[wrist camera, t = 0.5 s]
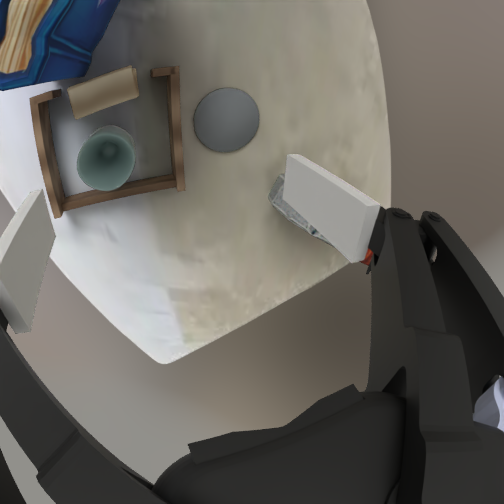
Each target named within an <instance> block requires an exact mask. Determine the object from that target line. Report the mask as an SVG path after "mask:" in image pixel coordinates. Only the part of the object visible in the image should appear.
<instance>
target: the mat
mask: <svg viewBox="0 0 504 504" xmlns="http://www.w3.org/2000/svg"><path fill="white" fill-rule="evenodd" d="M258 125H259V111H258V108H257V105H256V103H255V102H254V100H253V99H252V98H251V97H250V96H249V95H248V94H247V93H245V92H243V91H241V90H238V89H234V88H222V89H218V90H215V91H213V92H211V93H210V94H208V95H207V96H206V97H205V98H203V100H202V101H201V102H200V103H199V105H198V107H197V109H196V111H195V115H194V128H195V132H196V134H197V136H198V138H199V139H200V140H201V142H202V143H203V144H204V145H206V146H207V147H208V148H210V149H212V150H215V151H219V152H230V151H234V150H237V149H239V148H241V147H243V146H244V145H246V144H247V143H248V142H249V141H250V140H251V139H252V138H253V136H254V135H255V133H256V131H257V128H258Z"/></svg>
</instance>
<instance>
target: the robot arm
mask: <svg viewBox="0 0 504 504" xmlns="http://www.w3.org/2000/svg"><path fill="white" fill-rule="evenodd" d="M283 200H285V201H286V202H287V203H288V204H289V205H290V206H291V207H292V208H293V209H295V210H296V211H297V212H298V213H299V214H300V215H301V216H302V217H303V218H304V219H306V220H307V221H308V222H309V223H310V224H311V225H312V226H313V227H314V228H315V229H316V230H317V231H318V232H320V233H321V234H322V235H323V236H324V237H325V238H326V239H327V240H328V241H329V242H330V243H331V244H332V245H333V246H334V247H335V248H336V249H337V250H338V251H339V252H341V253H342V254H343V255H344V256H345V257H346V258H347V259H348V260H349V261H350V262H351V263H355V262H359V261H362V260H364V259H365V256H366V253H367V250H368V248H369V249H370V250H371V251H372V252H373V255H372V258H371V261H370V264H369V267H368V270H367V273H366V274H369V272H370V271H371V284H372V286H371V287H372V315H371V316H372V317H371V347H370V364H369V377H368V384H367V387H366V390H365V392H359V391H358V390H357V389H356V387H355V386H354V384H352V385H350V386H348V387H345V388H343V389H341V390H339V391H337V392H335V393H333V394H331V395H329V396H327V397H324V398H322V399H320V400H318V401H317V402H316V403H315V404H313V405H312V406H311V407H310V408H308V409H307V410H306V411H304V412H303V413H302V414H301V415H299V416H298V417H297V418H295V419H294V420H292V421H291V422H290V423H288V424H287V425H285V426H283V427H279V428H271V429H262V430H252V431H239V432H231V433H228V434H224V435H221V436H217V437H214V438H210V439H206V440H202V441H198V442H194V443H190V444H188V446H189V449H190V452H191V453H189V454H187V455H185V456H184V457H182V458H180V459H179V460H177V461H176V462H175V463H173V464H172V465H171V466H170V467H168V468H167V469H166V470H165V471H164V472H163V473H162V475H161V476H160V477H159V478H158V480H157V481H156V483H155V484H154V485H153V484H152V483H151V482H149V481H148V480H146V479H145V478H143V477H142V476H141V475H139V474H138V473H136V472H135V471H134V470H132V469H130V468H129V467H128V466H127V465H125V464H124V463H123V462H122V461H120V460H119V459H118V458H117V457H115V456H114V455H113V454H112V453H111V452H110V451H108V450H107V449H106V448H105V447H104V446H103V445H102V444H100V443H99V442H98V441H97V440H96V439H95V438H94V437H93V436H92V435H91V434H90V433H88V432H87V431H86V429H85V428H83V427H82V426H81V425H80V424H79V423H78V422H77V421H76V420H75V419H74V417H73V416H72V415H71V414H70V413H69V412H68V411H67V410H66V409H65V408H64V407H63V406H62V404H61V403H59V401H58V400H57V399H56V398H55V397H54V395H53V394H52V393H51V392H50V391H49V390H48V388H47V387H46V386H45V385H44V383H43V382H42V381H41V380H40V378H39V377H38V376H37V375H36V373H35V372H34V371H33V369H32V368H31V366H30V365H29V364H28V362H27V361H26V360H25V358H24V357H23V355H22V354H21V353H20V351H19V350H18V348H17V347H16V345H15V344H14V342H13V341H12V339H11V337H10V336H9V335H8V333H7V332H6V329H7V326H8V323H9V325H10V326H11V328H12V329H13V331H14V332H15V334H18V333H25V332H31V328H32V323H33V317H34V313H35V308H36V303H37V299H38V295H39V291H40V287H41V283H42V279H43V276H44V272H45V268H46V265H47V262H48V258H49V255H50V252H51V249H52V246H53V243H54V240H55V237H56V235H55V232H54V229H53V226H52V222H51V219H50V215H49V212H48V208H47V204H46V200H45V196H44V192H43V189H40V190H36V191H33V192H30V193H29V195H28V196H27V197H26V199H25V200H24V202H23V203H22V205H21V206H20V208H19V209H18V211H17V212H16V214H15V215H14V217H13V218H12V220H11V221H10V223H9V225H8V226H7V228H6V230H5V231H4V233H3V235H2V236H1V238H0V416H1V417H2V419H3V421H4V422H5V424H6V425H7V427H8V429H9V430H10V432H11V433H12V435H13V436H14V438H15V439H16V441H17V442H18V444H19V445H20V447H21V448H22V449H23V451H24V452H25V454H26V455H27V456H28V458H29V459H30V460H31V462H32V463H33V464H34V465H35V467H36V468H37V470H38V474H37V476H36V478H37V480H38V482H39V484H40V485H41V487H42V488H43V489H44V491H45V492H46V493H47V494H48V495H49V496H50V497H51V499H52V500H53V501H54V502H55V503H56V504H504V297H503V296H502V294H501V293H500V291H499V290H498V288H497V287H496V285H495V284H494V282H493V281H492V279H491V278H490V276H489V275H488V274H487V272H486V271H485V269H484V268H483V267H482V265H481V264H480V263H479V261H478V260H477V259H476V257H475V256H474V255H473V253H472V252H471V251H470V249H469V248H468V247H467V246H466V244H465V243H464V242H463V241H462V239H461V238H460V237H459V236H458V235H457V233H456V232H455V231H454V230H453V229H452V227H451V226H450V225H449V224H448V223H447V222H446V221H445V219H443V218H442V217H441V216H440V215H439V214H437V213H435V212H429V211H424V212H423V213H422V216H421V219H420V221H419V220H414V219H413V217H412V216H411V215H410V214H409V213H407V212H406V211H404V210H402V209H399V208H388V209H387V210H386V209H384V208H383V207H381V206H380V204H379V203H377V202H376V201H374V200H373V199H371V198H370V197H368V196H367V195H365V194H364V193H362V192H361V191H359V190H358V189H356V188H355V187H353V186H352V185H350V184H348V183H347V182H345V181H344V180H342V179H340V178H339V177H337V176H335V175H334V174H332V173H331V172H329V171H327V170H325V169H324V168H322V167H320V166H319V165H317V164H315V163H314V162H312V161H310V160H308V159H307V158H305V157H303V156H301V155H299V154H288V155H287V161H286V171H285V180H284V190H283ZM436 249H437V257H436V259H435V262H434V261H433V260H432V258H433V256H434V253H435V251H436ZM499 375H500V376H501V377H500V378H499ZM0 504H26V502H25V500H24V498H23V496H22V495H21V493H20V491H19V489H18V487H17V485H16V483H15V481H14V479H13V477H12V475H11V472H10V470H9V468H8V465H7V463H6V461H5V459H4V456H3V454H2V451H1V449H0Z"/></svg>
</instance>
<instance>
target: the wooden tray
mask: <svg viewBox="0 0 504 504" xmlns="http://www.w3.org/2000/svg"><path fill="white" fill-rule="evenodd" d="M158 76H167V99H168V119H169V135H170V149H171V161H172V172H173V174H170V175H164V176H158V177H153V178H148V179H142V180H137V181H132V182H127V183H124V184H123V185H122V186H120V187H119V188H117V189H114V190H111V191H101V190H97V189H96V190H91V191H87V192H83V193H79V194H75V195H71V196H68V197H65V195H64V191H63V187H62V183H61V179H60V174H59V170H58V165H57V160H56V155H55V150H54V144H53V138H52V132H51V125H50V118H49V110H48V100H51V99H54V98H57V97H61V89H58V90H52V91H49V92H46V93H43V94H40V95H37V96H34V97H32V98H30V107H31V115H32V122H33V129H34V135H35V141H36V146H37V152H38V157H39V161H40V166H41V170H42V175H43V179H44V183H45V187H46V191H47V194H48V198H49V202H50V205H51V208H52V212H53V215H54V218H55V219H56V218H60V217H61V216H62V214H63V211H67V210H71V209H75V208H79V207H83V206H87V205H91V204H95V203H99V202H104V201H108V200H113V199H117V198H122V197H126V196H131V195H136V194H141V193H146V192H151V191H157V190H162V189H168V188H173V187H176V188H177V191H178V192H179V191H185V178H184V165H183V151H182V134H181V114H180V84H179V66H174V67H164V68H155V69H152V70H151V77H158Z"/></svg>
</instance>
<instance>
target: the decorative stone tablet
mask: <svg viewBox="0 0 504 504" xmlns="http://www.w3.org/2000/svg"><path fill="white" fill-rule="evenodd" d="M284 180H285V174H280V175H279V177H278V179H277V180H276V182H275V184H274V185H273V187H272V189H271V191H270V193H269V194H268V198H269V200H270V202H271V204H272V205H273V207H274V208H275V209H276V210H278V211H279V212H280V213H281V214H282V215H283V216H284V217H285V218H286V219H288V220H289V221H290V222H292V223H294V224H295V225H297V226H298V227H300V228H301V229H303V230H305V231H306V232H308V233H309V234H311V235H312V236H314V237H316V238H318V239H320V240H322V241H324V242H326V243H327V244H329V245H331V246H333V245H332V244H331V243H330V242H329V241H328V240H327V239H326V238H325V237H324V236H323V235H322V234H321V233H320V232H318V231H317V230H316V229H315V228H314V227H313V226H312V225H311V224H310V223H309V222H308V221H307V220H306V219H304V218H303V217H302V216H301V215H300V214H299V213H298V212H297V211H296V210H295V209H293V208H292V207H291V206H290V205H289V204H288V203H287V202H286V201H285V200H283V190H284ZM333 247H334V246H333ZM372 255H373V252H372V251H371V250H370V249H369V248H368V250H367V253H366V256H365V259H364V260H362V261H359V262H361V263H364V264H366V265H368V266H369V264H370V261H371V258H372Z"/></svg>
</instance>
